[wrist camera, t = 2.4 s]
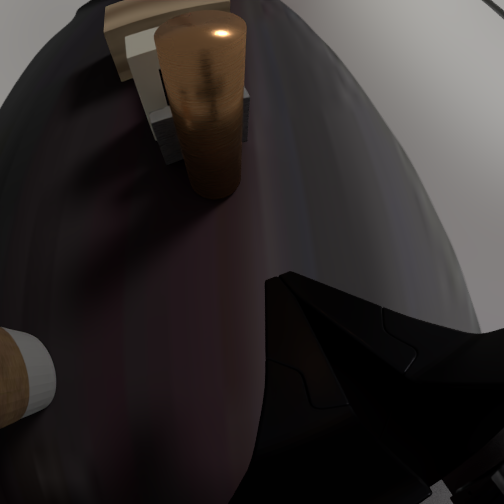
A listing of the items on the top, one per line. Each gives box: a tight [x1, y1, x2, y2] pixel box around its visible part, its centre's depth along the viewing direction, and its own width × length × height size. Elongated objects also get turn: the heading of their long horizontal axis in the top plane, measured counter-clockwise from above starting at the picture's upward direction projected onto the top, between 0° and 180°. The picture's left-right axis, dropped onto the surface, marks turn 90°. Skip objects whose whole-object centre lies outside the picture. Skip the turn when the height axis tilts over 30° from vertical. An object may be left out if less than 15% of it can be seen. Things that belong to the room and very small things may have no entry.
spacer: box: [125, 27, 167, 141], centre depth 18 cm, size 3×7×8 cm, turn 110°
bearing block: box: [104, 0, 230, 82], centre depth 21 cm, size 7×11×6 cm, turn 110°
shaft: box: [149, 10, 250, 200], centre depth 16 cm, size 23×6×12 cm, turn 20°
